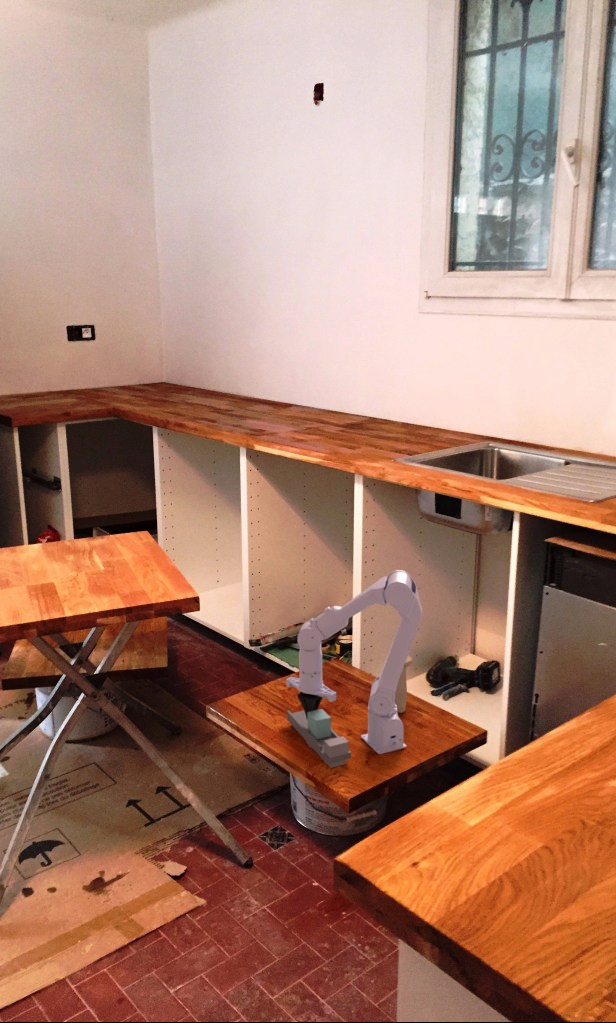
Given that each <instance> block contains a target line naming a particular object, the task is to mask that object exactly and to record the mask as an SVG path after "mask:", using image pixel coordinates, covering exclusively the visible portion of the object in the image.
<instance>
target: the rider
mask: <svg viewBox="0 0 616 1023" xmlns="http://www.w3.org/2000/svg"><path fill="white" fill-rule="evenodd" d="M331 729H332V717H331V716H330V715H329V714H328V713H327V712H326V711H325V710H324V709H323V708H318V710H315V711H310V712H308V731H309V732H310V733H311V734H312V735H313V737H314V738H315V739H320V738H324V737H329V736H331Z"/></svg>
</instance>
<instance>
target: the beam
mask: <svg viewBox="0 0 616 1023" xmlns="http://www.w3.org/2000/svg"><path fill="white" fill-rule="evenodd" d="M286 720H287V721H288V722H289V723H290V725H291V726H292V727H293V728H294V729H295V731H297V732H298V734H299V735H300V736H301V737H302V738H303V739H304V740H305V743H306V744H307V745H308V747H309V749H313V750H314V752H316V753H317V755H318V756H319V757H320V758H321V759H322V761H324V763H325V764H326V765H327V766H329V767H330V769H332V768H336V767H339V766H343V765H346V764H347V760H349V759H352V751H351V750H350V749H349V747H350V744H349V742H350V741H348V739H347V738H345V737H344V736H343V735H342V736H340V735H338V733H337V732H336V731H335V730H334V729H332V728H331V736H329V737H324V738H320V739H315V738H314V737H313V735H312V734H311V733H310V732H309V731H308V720H307V718H306V714H305V711H304V710H301V711H295V712H291V711H290V710H286Z"/></svg>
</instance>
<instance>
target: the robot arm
mask: <svg viewBox="0 0 616 1023" xmlns="http://www.w3.org/2000/svg"><path fill="white" fill-rule="evenodd" d="M375 604H376V605H381V606H387V604H388V605H389V606H391V607H392V608H393V609H395V610H396V611H397V612H398V614H399V616H400V617H401V618H400V620H399V623H398V625H397V628H396V631H395V633H394V635H393V639H392V641H391V644H390V647H389V650H388V653H387V655H386V659H385V661H384V664H383V667H382V669H381V670H380V672H379V674H378V676H377V677H376V678H375V679H374V680H373V681H372V682H371V687H370V696H369V699H368V702H367V703H368V706H367V733H366V734H365V733H364V734H362V735H360V737H361V739H362V740H364V742H365V743H366V744H367V745H368V746H370V747H371V749H373V751H374V752H375V753H377V754H378V755H381V754H382V755H383V754H385V753H386V754H387V753H390V752H394V751H399V750H401V749H405V748H407V744H406V743H404V732H405V731H404V730H405V729H404V728H405V727H404V723H403V721H402V720H401V718H400V717H399V713H397V705H396V704H395V702H394V700H395V693H396V688H397V685H398V681H399V678H400V675H401V673H402V670H403V667H404V665H405V662H406V660H407V657H408V656H409V654H410V651H411V648H412V646H413V644H414V640H415V638H416V636H417V633H418V631H419V629H420V625H421V622H422V620H423V614H424V613H423V612H424V610H423V607H422V603H421V599H420V596H419V592H418V587H417V583H416V582H415V580H414V579H413V577H412V576H411V574H410V573H408V572H407V571H405V570H401V569H396V570H393V571H392V572H390V574H389V575H385V576H383V577H381V578H380V579H378V580H377V581H376V582H374V583H373V584H371V585H370V586H369V587H367V588H366V589H364V590H362V592H360V593H359V594H357V595H356V596H355V597H353V598H352V599H351V600H349V601H348V602H346V603H345V604H344V605H342V606H339V605H334V606H332V607H330V606H327V607H326V608H325V609H324V611H323V613H321V614H320V615H318V616H316V617H315V618H314V617H312V618H310V619H309V620H308V621H305V622H304V623H302V625H301V627H300V629H299V632H298V634H297V644H298V645H299V646H298V648H299V651H298V658H299V660H298V663H299V664H298V668H299V670H298V671H299V676H298V677H299V678H298V677H295V676H294V677H293V676H290V677H288V678H286V681H285V682H286V685H285V686H286V687H288V688H291V687H293V688H295V689H297V690H298V691H299V693H298V694H297V697H296V698H297V700H299V701H300V704H301V706H302V707H303V711H305V714H306V718H307V720H308V712H310V711H315V710H319V706H320V704H321V702H322V700H323V699H327V700H328V702H330V703H333V702H335V701H336V700H337V691H334V690H332V689H330V688H329V687H328V686H326V685H325V684H324V680H323V650H322V641H324V640H327V639H329V638H330V637H332V636H333V635H334V634H336V633H338V632H339V631H341V630H343V629H344V628H346V627H347V626H348V624H349V619H350V618H352V617H354V616H356V615H357V614H359V613H361V612H363V611H364V610H366V609H367V608H369V607H371V606H373V605H375Z"/></svg>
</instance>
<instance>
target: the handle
mask: <svg viewBox="0 0 616 1023" xmlns="http://www.w3.org/2000/svg"><path fill="white" fill-rule="evenodd" d="M412 664H413V658H412V657H411V656H410V655H408V657H407V660H406V662H405V665H404V667H403V670H402V673H401V675H400V678H399V681H398V685H397V688H396V693H395V700H394V702H395V704H396V705H397V714H399V713H400V714H402V713H404V712H405V711H406V705H407V699H408V698H407V696H408V689H407V688H408V687H407V686H408V685H407V668H408V667H410V666H412Z"/></svg>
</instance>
